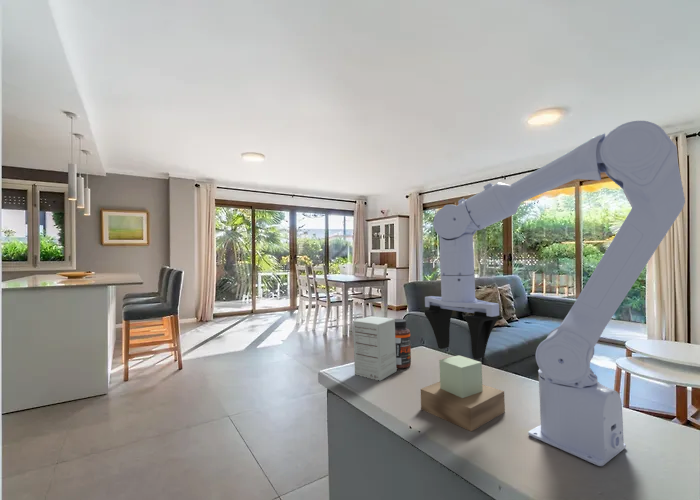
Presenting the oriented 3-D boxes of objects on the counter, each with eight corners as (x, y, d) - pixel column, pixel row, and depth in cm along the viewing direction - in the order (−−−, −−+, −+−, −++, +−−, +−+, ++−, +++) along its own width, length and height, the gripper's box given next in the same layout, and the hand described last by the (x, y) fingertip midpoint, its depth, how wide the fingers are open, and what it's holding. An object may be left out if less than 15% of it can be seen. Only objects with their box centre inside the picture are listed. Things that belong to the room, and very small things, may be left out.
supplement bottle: (404, 371, 79) (402, 323, 80) (382, 366, 83) (381, 320, 83) (415, 364, 84) (413, 319, 84) (394, 360, 88) (393, 317, 88)
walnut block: (504, 414, 58) (504, 391, 58) (471, 434, 52) (470, 408, 52) (455, 396, 66) (454, 375, 66) (421, 411, 60) (420, 388, 60)
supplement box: (371, 366, 84) (370, 315, 84) (397, 372, 79) (395, 318, 79) (353, 375, 78) (351, 320, 78) (380, 381, 73) (378, 323, 73)
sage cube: (482, 391, 58) (481, 362, 58) (462, 398, 55) (461, 367, 55) (459, 382, 62) (459, 355, 62) (440, 388, 60) (439, 360, 60)
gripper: (509, 274, 55) (512, 357, 55) (441, 272, 67) (444, 340, 67) (481, 277, 51) (485, 366, 51) (415, 274, 64) (418, 346, 63)
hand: (460, 352), depth 59 cm, fingers open, 7 cm apart
